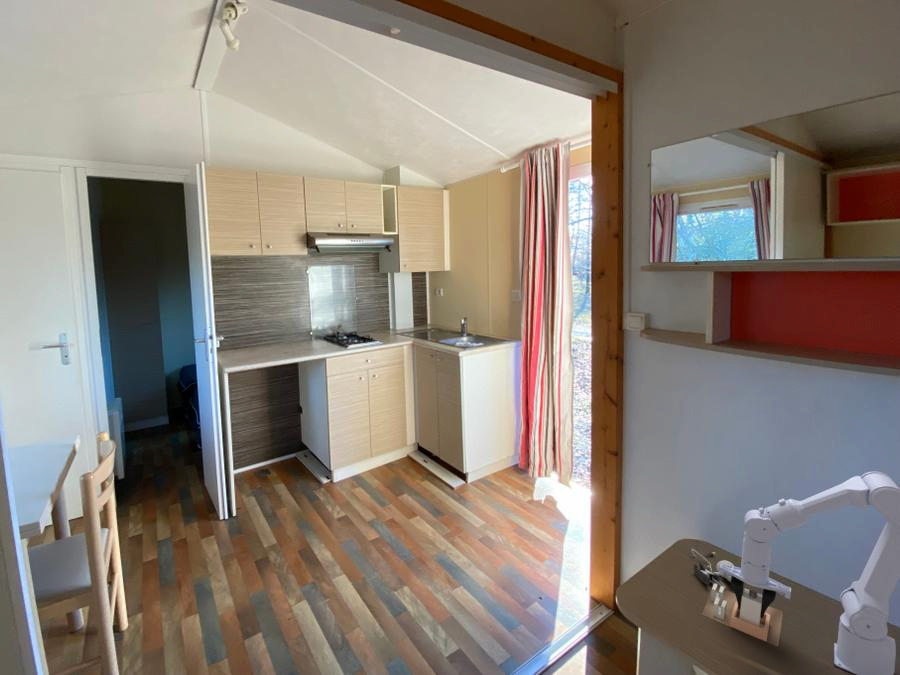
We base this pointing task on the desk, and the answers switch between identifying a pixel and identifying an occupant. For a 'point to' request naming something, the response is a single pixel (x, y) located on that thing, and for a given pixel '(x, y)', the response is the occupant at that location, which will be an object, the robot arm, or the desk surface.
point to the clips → (718, 602)
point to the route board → (731, 599)
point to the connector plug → (751, 607)
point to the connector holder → (748, 626)
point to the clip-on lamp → (708, 575)
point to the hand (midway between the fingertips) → (751, 611)
